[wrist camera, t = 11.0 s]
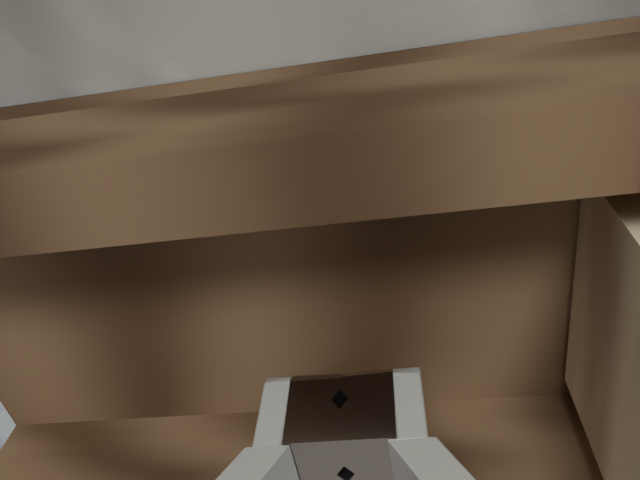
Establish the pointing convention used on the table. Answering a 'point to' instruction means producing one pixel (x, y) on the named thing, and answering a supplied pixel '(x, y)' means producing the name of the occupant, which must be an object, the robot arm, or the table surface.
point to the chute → (309, 250)
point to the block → (607, 332)
